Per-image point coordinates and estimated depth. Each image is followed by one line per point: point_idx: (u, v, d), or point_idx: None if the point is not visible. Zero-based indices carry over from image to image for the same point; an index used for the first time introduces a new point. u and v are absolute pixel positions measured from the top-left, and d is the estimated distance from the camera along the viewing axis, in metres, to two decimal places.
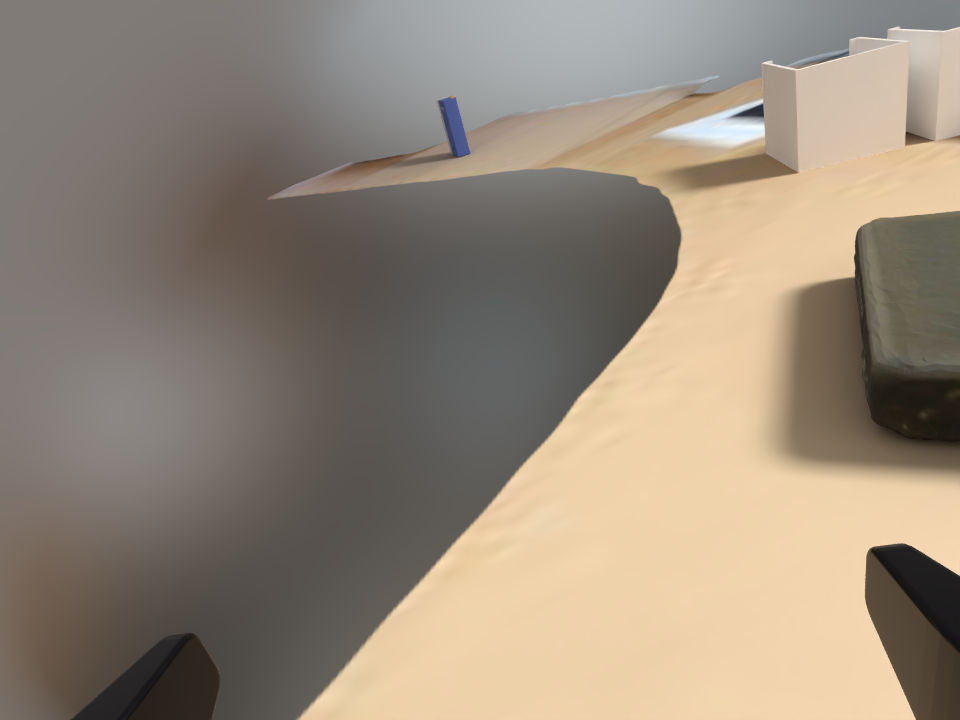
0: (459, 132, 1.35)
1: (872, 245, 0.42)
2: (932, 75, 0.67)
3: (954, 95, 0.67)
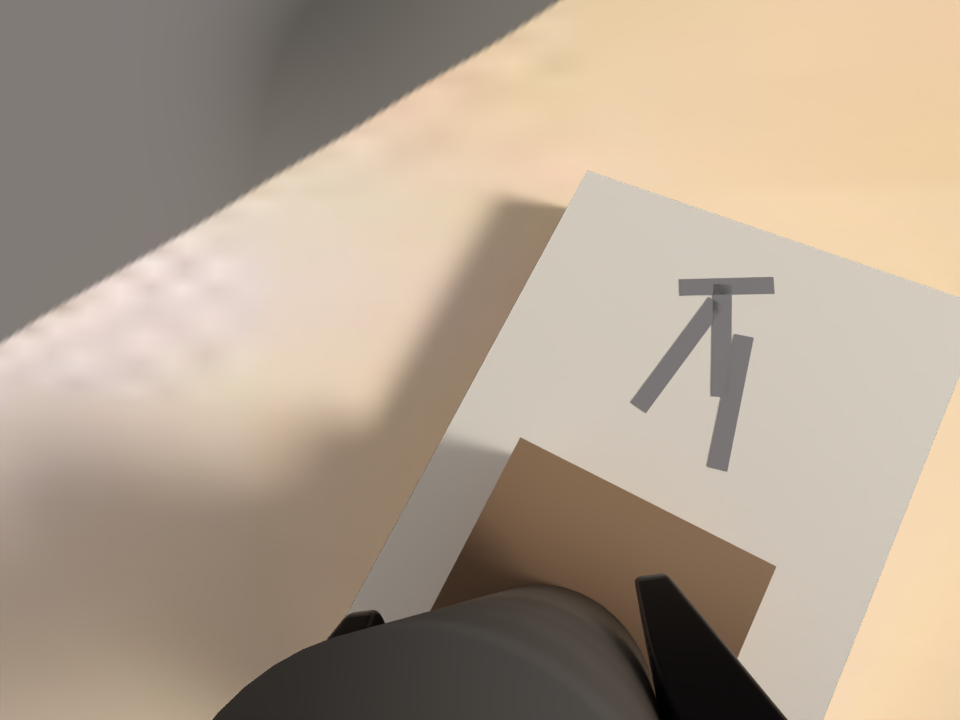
0: None
1: None
2: None
3: None
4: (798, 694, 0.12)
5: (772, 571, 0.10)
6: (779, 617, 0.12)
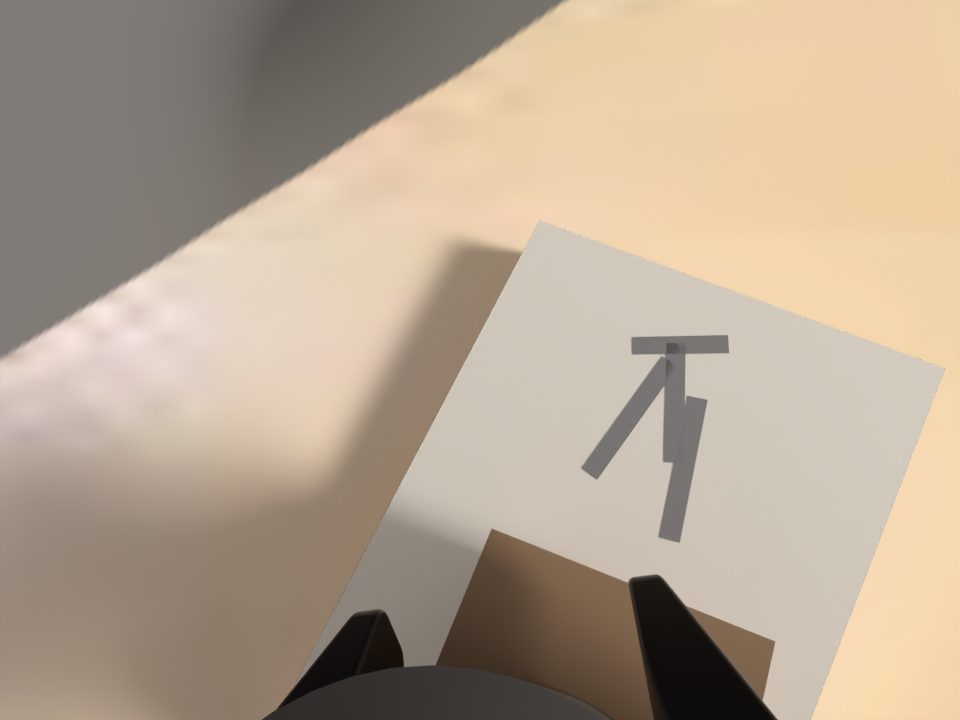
0: None
1: None
2: None
3: None
4: None
5: (772, 647, 0.09)
6: None
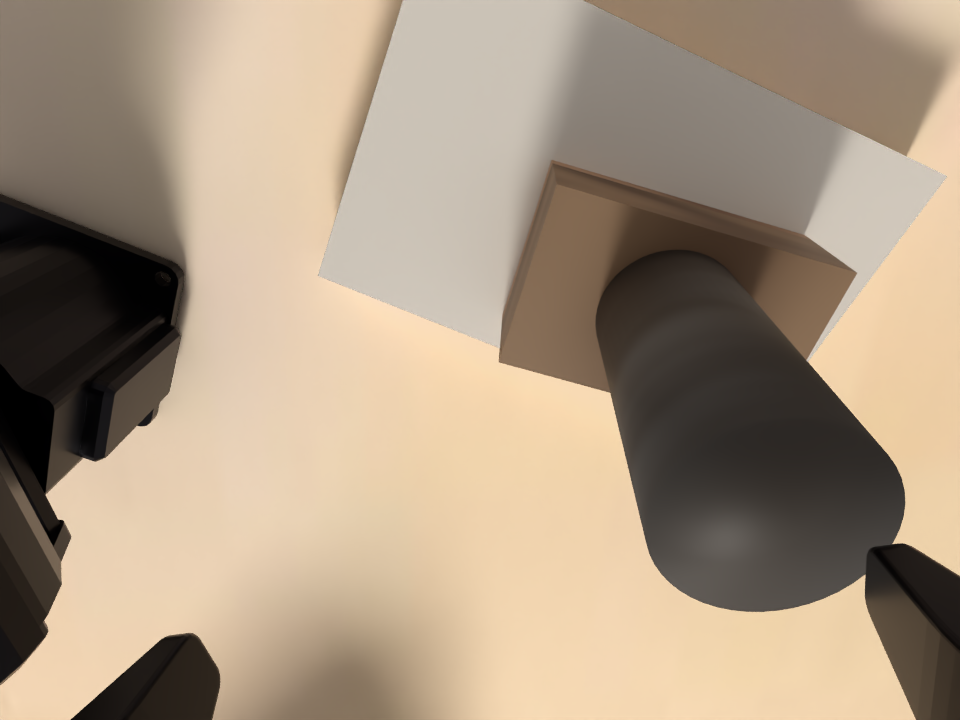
0: None
1: None
2: None
3: None
4: (497, 330, 0.19)
5: None
6: None
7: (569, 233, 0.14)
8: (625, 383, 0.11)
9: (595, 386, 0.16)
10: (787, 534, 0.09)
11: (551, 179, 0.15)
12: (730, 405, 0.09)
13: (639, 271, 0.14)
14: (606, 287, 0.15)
